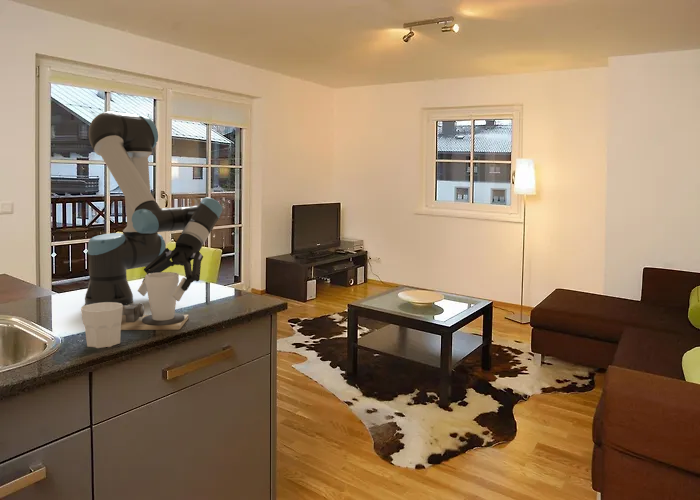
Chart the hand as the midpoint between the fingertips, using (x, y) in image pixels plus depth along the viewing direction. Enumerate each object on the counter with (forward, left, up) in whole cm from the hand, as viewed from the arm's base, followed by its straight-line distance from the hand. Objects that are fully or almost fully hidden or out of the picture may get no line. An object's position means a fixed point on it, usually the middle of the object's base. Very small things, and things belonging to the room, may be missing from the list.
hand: (157, 296), depth 160 cm
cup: (-10, -16, -9) cm, 21 cm away
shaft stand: (-4, +2, -9) cm, 10 cm away
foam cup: (+1, +2, -7) cm, 8 cm away
